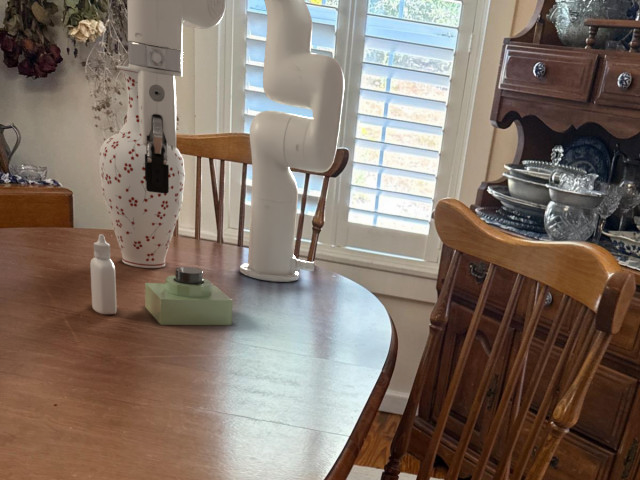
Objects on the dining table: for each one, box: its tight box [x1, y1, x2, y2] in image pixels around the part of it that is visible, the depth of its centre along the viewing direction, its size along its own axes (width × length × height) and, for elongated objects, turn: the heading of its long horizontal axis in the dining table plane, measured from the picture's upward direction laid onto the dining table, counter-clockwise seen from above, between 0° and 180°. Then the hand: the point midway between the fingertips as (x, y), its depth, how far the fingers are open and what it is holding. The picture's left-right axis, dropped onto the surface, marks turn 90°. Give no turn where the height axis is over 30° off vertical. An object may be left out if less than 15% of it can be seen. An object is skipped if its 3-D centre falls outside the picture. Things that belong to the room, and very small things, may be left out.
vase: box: [98, 65, 186, 269], centre depth 151 cm, size 16×16×35 cm
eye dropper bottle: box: [89, 233, 117, 315], centre depth 125 cm, size 4×6×12 cm
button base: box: [144, 274, 234, 326], centre depth 131 cm, size 12×10×6 cm
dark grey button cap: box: [174, 266, 204, 285], centre depth 129 cm, size 4×4×2 cm
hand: (156, 187), depth 121 cm, fingers open, 9 cm apart
